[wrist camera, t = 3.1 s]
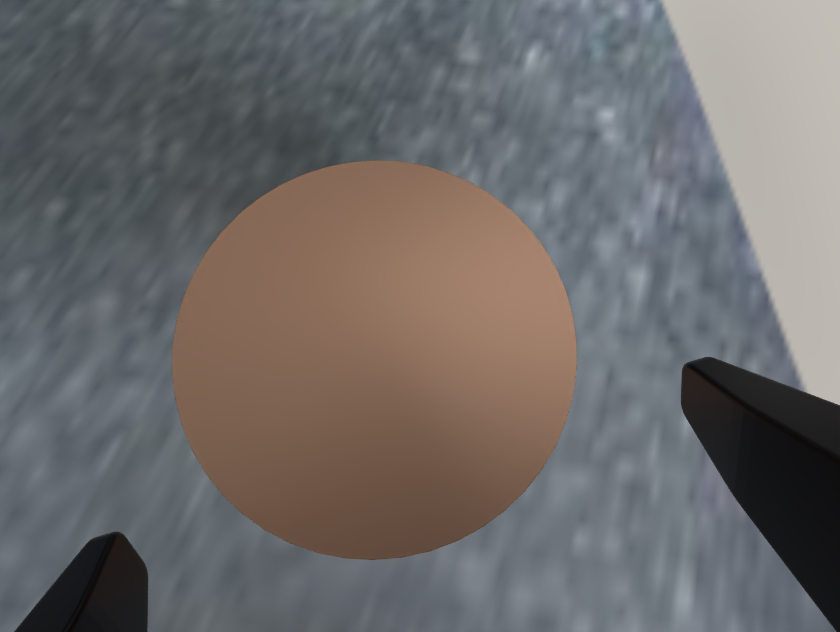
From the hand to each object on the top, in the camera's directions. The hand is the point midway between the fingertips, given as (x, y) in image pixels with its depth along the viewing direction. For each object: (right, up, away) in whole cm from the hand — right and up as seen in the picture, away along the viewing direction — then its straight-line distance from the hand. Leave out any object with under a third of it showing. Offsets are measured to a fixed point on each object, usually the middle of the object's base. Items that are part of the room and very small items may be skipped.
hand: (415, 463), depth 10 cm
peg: (0, -1, +9) cm, 9 cm away
